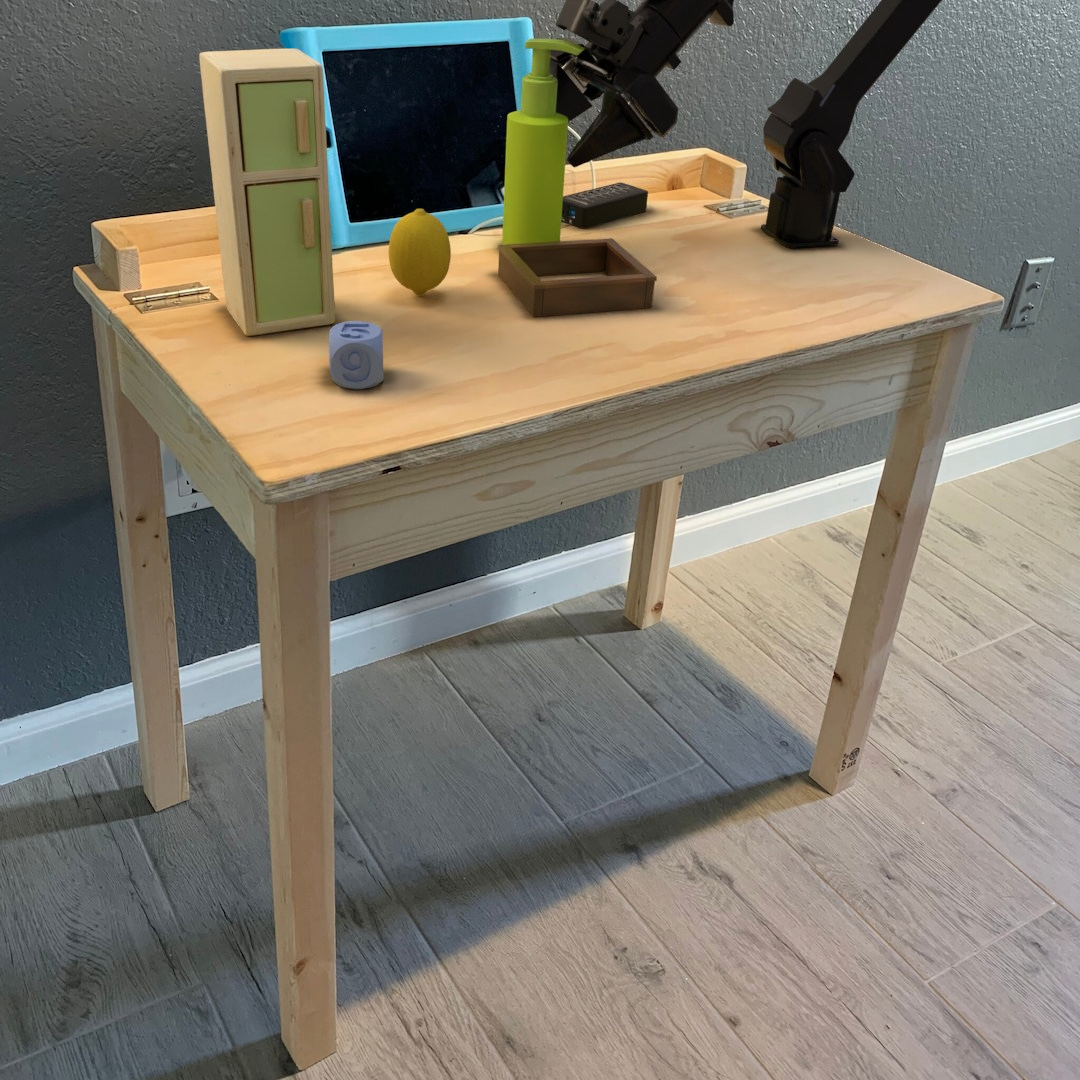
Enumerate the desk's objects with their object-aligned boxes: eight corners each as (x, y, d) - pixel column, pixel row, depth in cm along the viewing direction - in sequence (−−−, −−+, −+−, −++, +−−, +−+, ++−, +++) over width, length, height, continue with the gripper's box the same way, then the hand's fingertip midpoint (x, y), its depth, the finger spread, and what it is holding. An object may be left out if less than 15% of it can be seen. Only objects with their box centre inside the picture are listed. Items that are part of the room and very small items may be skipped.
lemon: (462, 297, 104) (464, 211, 100) (417, 312, 101) (417, 223, 96) (422, 280, 107) (422, 195, 103) (376, 293, 104) (374, 206, 99)
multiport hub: (647, 211, 130) (650, 190, 128) (582, 229, 123) (584, 207, 121) (618, 201, 132) (620, 181, 131) (553, 218, 125) (554, 197, 124)
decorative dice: (383, 367, 91) (382, 320, 88) (383, 389, 87) (382, 341, 85) (332, 367, 90) (330, 320, 88) (330, 389, 87) (328, 341, 84)
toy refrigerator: (246, 341, 93) (222, 69, 82) (223, 309, 99) (197, 50, 87) (339, 328, 96) (328, 66, 85) (312, 298, 102) (298, 47, 90)
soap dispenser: (561, 264, 113) (577, 49, 102) (495, 254, 114) (503, 41, 103) (574, 246, 118) (590, 39, 107) (510, 237, 119) (519, 31, 108)
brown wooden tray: (609, 267, 113) (612, 238, 111) (653, 308, 105) (657, 276, 103) (496, 275, 110) (497, 244, 108) (532, 317, 101) (534, 285, 99)
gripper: (569, -53, 111) (462, 71, 113) (663, -25, 97) (539, 116, 99) (632, 33, 118) (530, 148, 120) (728, 70, 104) (611, 199, 106)
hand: (549, 151), depth 111 cm, fingers open, 9 cm apart
